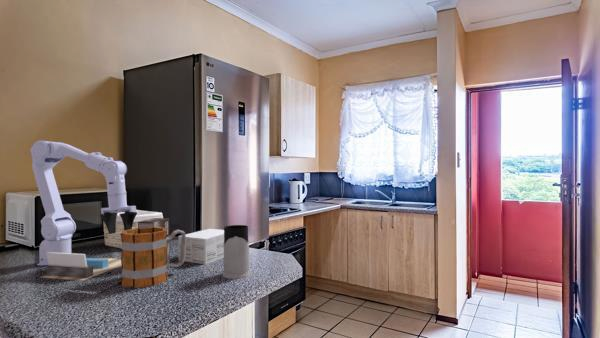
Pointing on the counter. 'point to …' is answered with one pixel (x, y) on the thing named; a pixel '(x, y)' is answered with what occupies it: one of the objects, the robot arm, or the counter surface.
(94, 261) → the light blue rectangular box
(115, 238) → the storage basket
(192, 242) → the supplement box
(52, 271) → the board
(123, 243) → the mug
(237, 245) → the glass holder
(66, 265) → the plate
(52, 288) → the counter surface
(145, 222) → the coffee box
